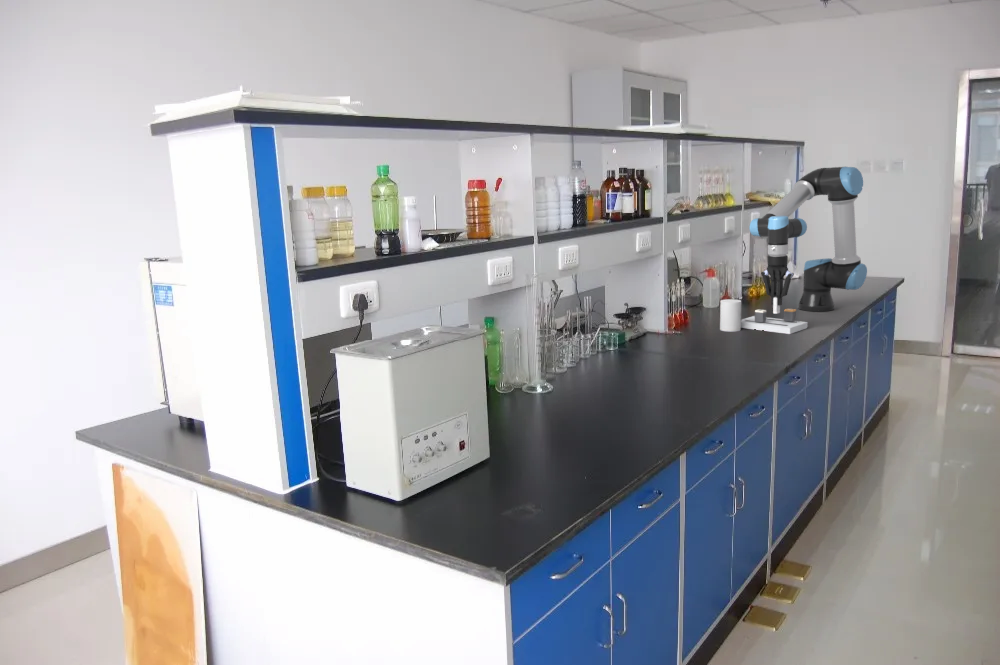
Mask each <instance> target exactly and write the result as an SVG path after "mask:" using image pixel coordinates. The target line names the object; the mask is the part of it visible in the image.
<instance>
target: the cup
mask: <svg viewBox="0 0 1000 665" xmlns="http://www.w3.org/2000/svg"><path fill="white" fill-rule="evenodd" d="M719 306H720V310H719V311H720V313H719V314H720V317H719V330H720V331H722V332H729V333H730V332H739V331H741V329H742V328H741V320H742V300H741V299H731V298H728V299H721V300H720V305H719Z"/></svg>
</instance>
